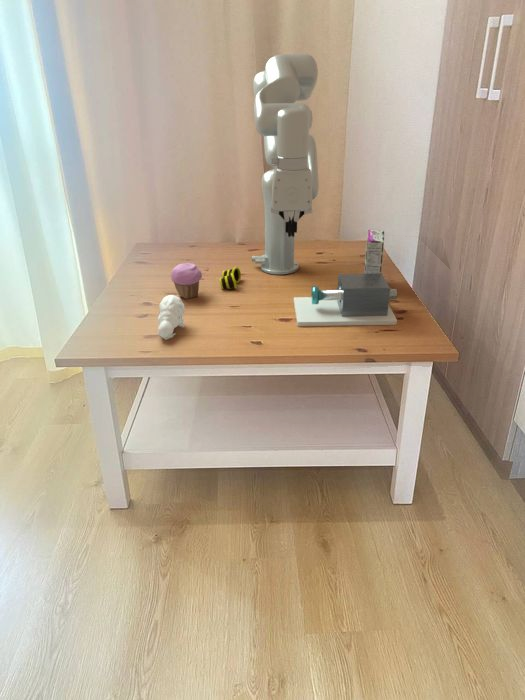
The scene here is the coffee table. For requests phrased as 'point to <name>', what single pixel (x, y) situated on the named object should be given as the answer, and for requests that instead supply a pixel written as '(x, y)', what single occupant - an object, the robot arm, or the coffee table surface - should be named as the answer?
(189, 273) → the cupcake
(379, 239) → the candy bar box
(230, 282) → the opera glasses
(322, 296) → the steel shaft
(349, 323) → the mounting board
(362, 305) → the shaft housing
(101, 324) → the coffee table surface
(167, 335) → the white figurine
